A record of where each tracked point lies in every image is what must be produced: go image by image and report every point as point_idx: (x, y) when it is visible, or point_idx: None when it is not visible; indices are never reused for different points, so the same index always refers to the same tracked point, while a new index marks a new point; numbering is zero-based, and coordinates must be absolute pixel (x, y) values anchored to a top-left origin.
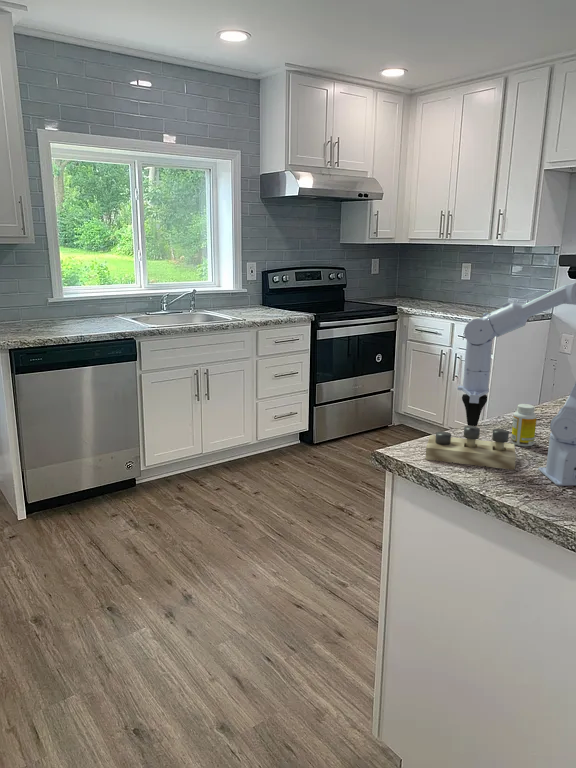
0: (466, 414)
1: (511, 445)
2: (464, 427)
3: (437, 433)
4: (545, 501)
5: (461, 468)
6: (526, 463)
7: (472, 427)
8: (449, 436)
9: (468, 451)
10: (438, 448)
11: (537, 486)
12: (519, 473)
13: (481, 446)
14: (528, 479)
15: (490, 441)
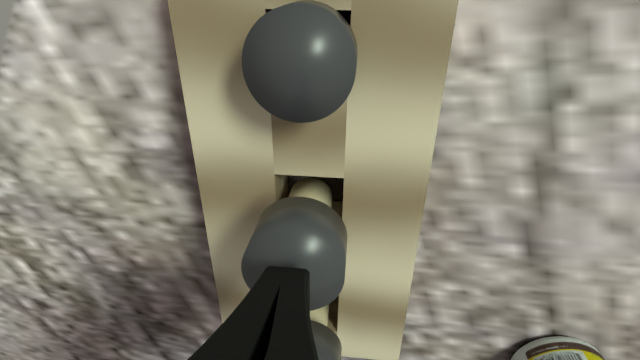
0: (220, 326)
1: (372, 351)
2: (289, 233)
3: (290, 18)
4: (44, 336)
5: (162, 139)
6: None
7: (312, 277)
8: (271, 110)
9: (211, 193)
10: (179, 32)
11: (136, 337)
12: (216, 313)
13: None
14: (177, 326)
15: (408, 289)
